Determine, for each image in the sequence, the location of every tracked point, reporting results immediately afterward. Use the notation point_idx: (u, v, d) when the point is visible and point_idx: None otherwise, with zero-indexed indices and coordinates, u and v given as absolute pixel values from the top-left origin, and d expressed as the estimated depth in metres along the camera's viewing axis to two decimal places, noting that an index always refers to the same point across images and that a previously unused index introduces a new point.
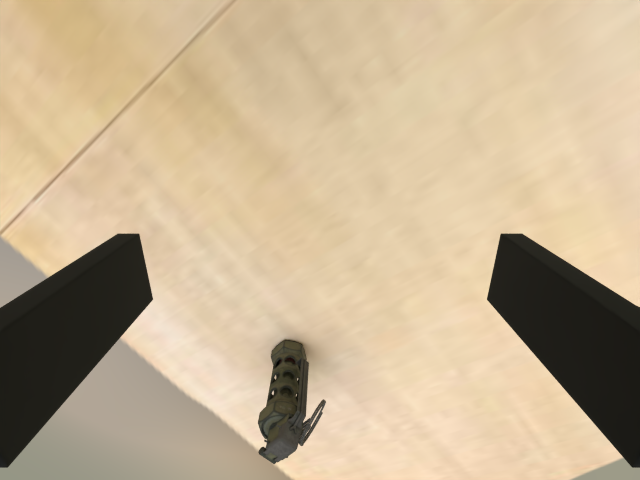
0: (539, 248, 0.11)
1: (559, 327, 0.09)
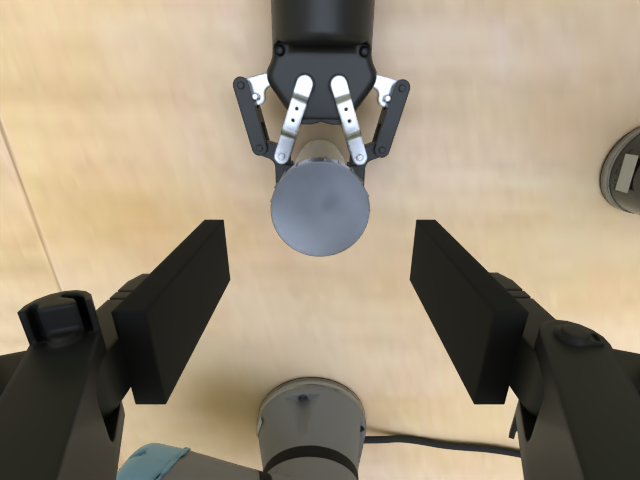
0: (441, 231, 0.12)
1: (443, 296, 0.11)
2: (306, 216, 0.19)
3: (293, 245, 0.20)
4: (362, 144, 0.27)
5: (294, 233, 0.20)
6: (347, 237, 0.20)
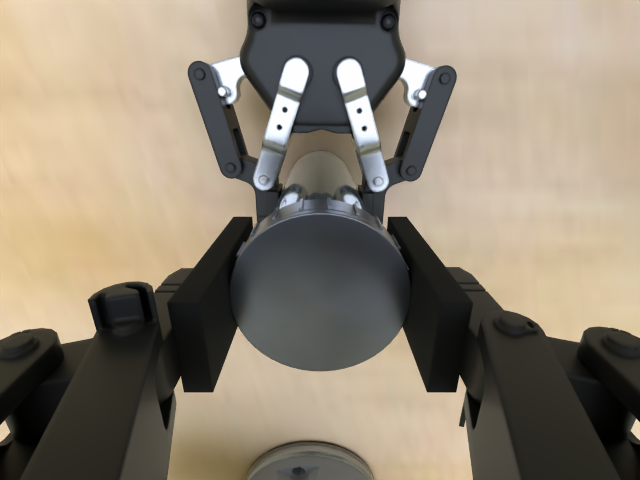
0: (410, 227, 0.13)
1: None
2: (295, 308, 0.11)
3: (272, 354, 0.11)
4: (382, 162, 0.18)
5: (273, 335, 0.11)
6: (369, 342, 0.11)
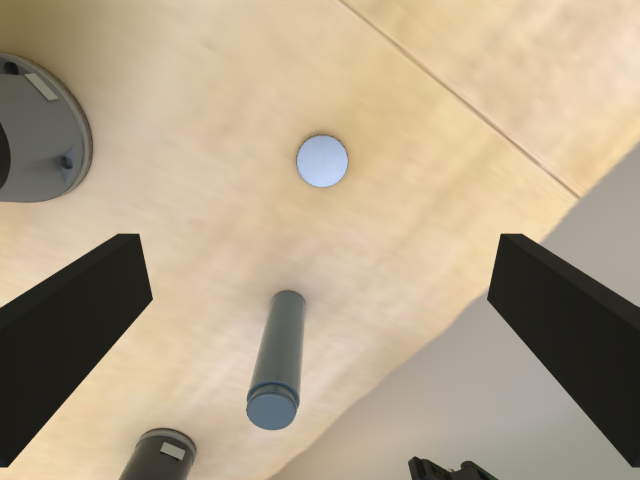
0: (539, 248, 0.11)
1: (559, 326, 0.09)
2: (321, 154, 0.37)
3: (307, 142, 0.36)
4: None
5: (313, 145, 0.36)
6: (304, 172, 0.37)
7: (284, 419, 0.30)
